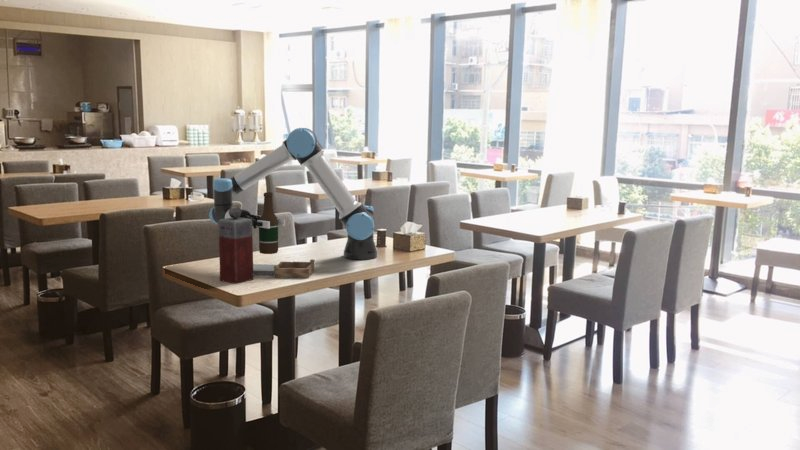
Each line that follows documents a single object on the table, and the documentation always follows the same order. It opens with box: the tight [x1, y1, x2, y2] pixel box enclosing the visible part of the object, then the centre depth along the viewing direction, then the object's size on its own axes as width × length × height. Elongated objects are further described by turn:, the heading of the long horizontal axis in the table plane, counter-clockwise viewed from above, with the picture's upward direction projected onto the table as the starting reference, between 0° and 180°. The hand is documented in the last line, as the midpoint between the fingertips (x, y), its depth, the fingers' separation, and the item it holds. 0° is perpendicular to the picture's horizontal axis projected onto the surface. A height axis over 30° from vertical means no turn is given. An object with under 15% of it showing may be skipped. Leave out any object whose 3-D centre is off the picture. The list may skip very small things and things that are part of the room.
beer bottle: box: [258, 191, 279, 255], centre depth 271 cm, size 8×8×24 cm
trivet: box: [253, 263, 275, 276], centre depth 275 cm, size 12×12×2 cm
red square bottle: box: [217, 206, 254, 285], centre depth 258 cm, size 9×11×28 cm
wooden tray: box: [273, 259, 315, 279], centre depth 270 cm, size 14×14×4 cm
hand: (276, 223), depth 268 cm, fingers closed on beer bottle, 7 cm apart
